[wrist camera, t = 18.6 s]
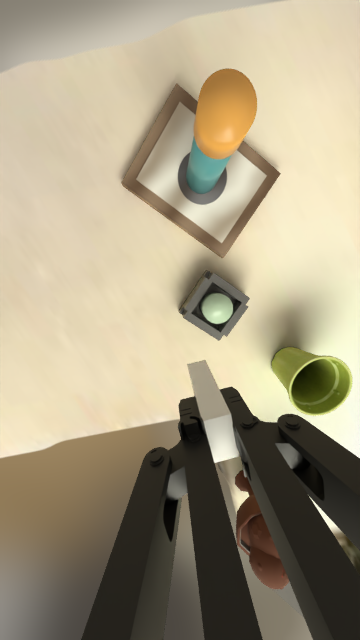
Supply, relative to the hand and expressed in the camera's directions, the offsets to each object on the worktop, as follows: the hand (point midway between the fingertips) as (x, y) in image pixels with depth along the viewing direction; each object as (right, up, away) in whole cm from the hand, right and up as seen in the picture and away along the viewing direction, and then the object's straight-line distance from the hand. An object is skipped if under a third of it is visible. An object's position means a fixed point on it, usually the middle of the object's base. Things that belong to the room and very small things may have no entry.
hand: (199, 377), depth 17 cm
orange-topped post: (+1, +25, +12) cm, 28 cm away
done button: (+4, +7, +17) cm, 18 cm away
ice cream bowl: (+13, -29, +27) cm, 42 cm away
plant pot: (+18, -3, +22) cm, 28 cm away
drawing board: (+1, +25, +14) cm, 29 cm away
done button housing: (+4, +7, +18) cm, 20 cm away
